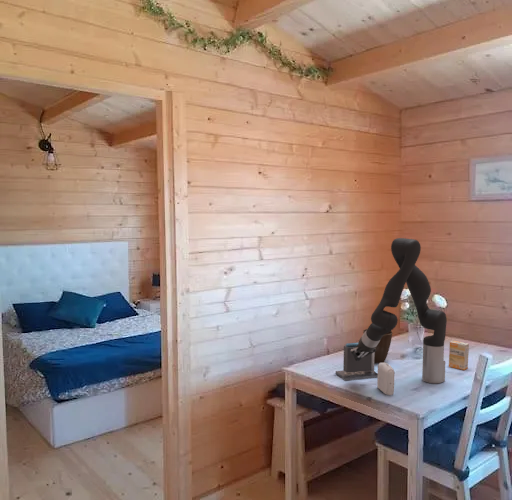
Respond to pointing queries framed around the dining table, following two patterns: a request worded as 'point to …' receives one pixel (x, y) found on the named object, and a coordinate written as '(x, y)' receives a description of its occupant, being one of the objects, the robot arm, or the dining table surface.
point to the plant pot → (382, 348)
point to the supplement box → (458, 355)
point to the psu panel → (357, 375)
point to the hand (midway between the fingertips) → (356, 359)
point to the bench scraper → (357, 366)
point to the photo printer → (385, 378)
